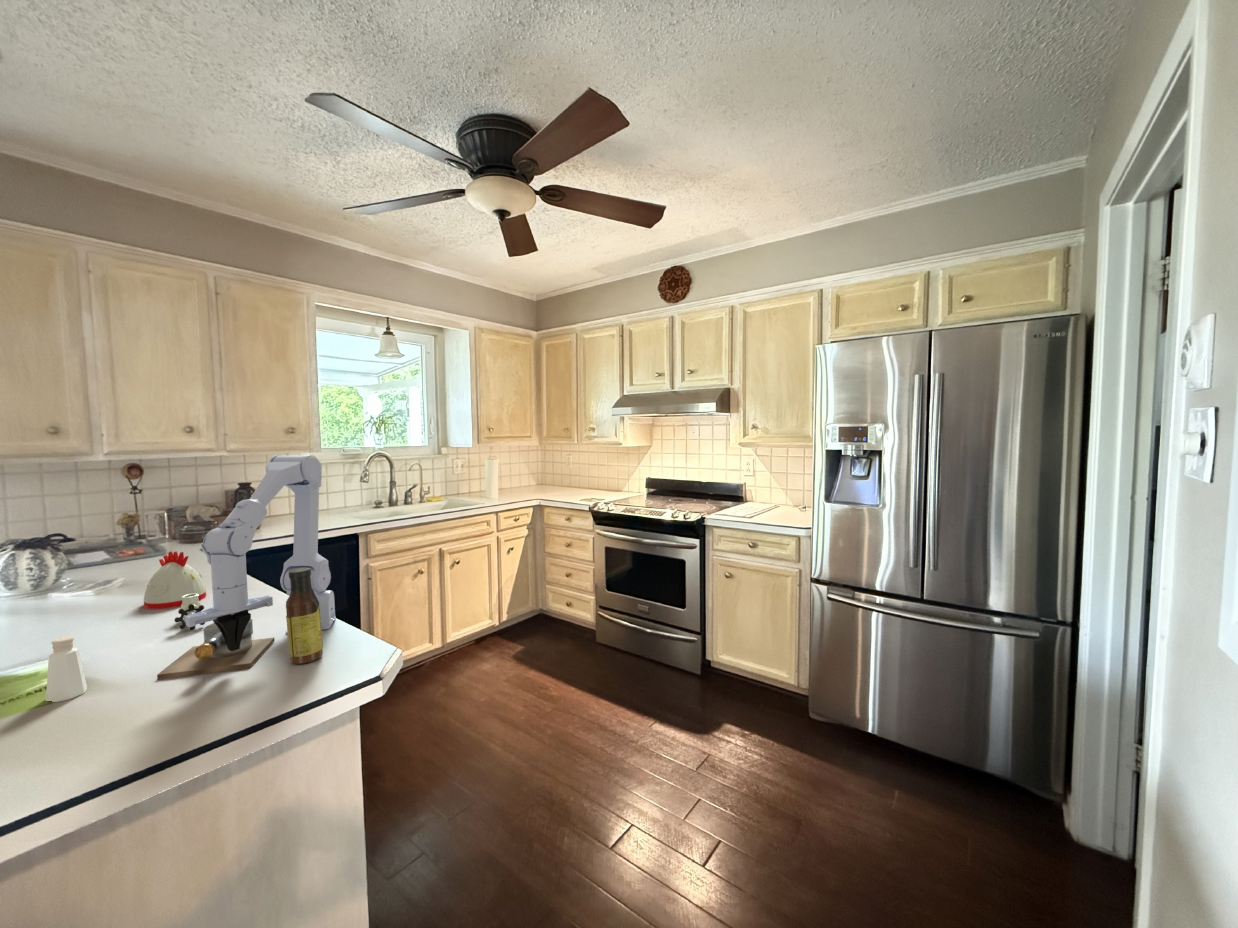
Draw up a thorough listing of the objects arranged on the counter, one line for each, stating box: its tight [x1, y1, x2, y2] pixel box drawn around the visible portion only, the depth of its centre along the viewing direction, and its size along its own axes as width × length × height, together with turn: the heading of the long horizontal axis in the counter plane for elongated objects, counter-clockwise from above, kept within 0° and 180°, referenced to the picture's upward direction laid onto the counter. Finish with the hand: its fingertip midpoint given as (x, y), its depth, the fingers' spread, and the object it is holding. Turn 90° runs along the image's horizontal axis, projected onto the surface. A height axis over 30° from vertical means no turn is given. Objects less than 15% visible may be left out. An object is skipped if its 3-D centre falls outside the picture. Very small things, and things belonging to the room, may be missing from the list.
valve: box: [174, 593, 206, 631], centre depth 131 cm, size 7×7×12 cm
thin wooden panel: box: [156, 634, 275, 680], centre depth 109 cm, size 16×14×4 cm
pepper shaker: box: [45, 635, 88, 703], centre depth 94 cm, size 5×5×11 cm
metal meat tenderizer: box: [194, 618, 254, 660], centre depth 108 cm, size 16×9×3 cm, turn 17°
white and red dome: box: [143, 551, 207, 610], centre depth 149 cm, size 14×14×15 cm
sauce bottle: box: [285, 568, 324, 665], centre depth 109 cm, size 6×6×20 cm
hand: (233, 649), depth 104 cm, fingers closed
